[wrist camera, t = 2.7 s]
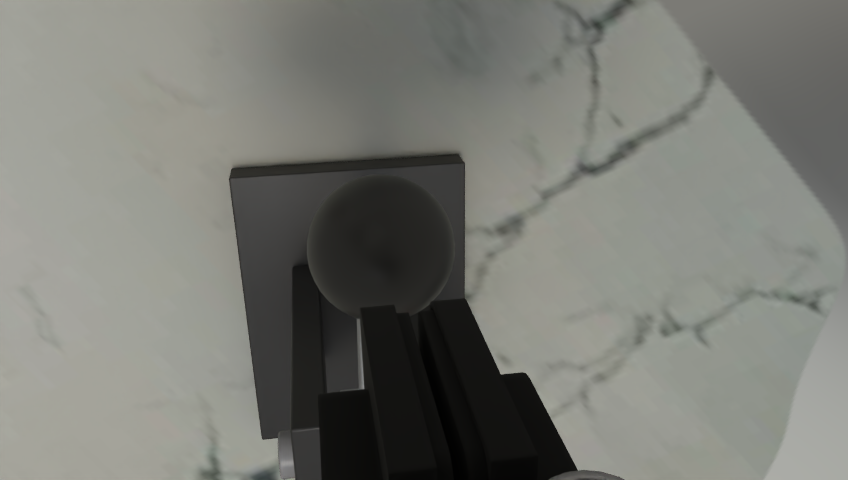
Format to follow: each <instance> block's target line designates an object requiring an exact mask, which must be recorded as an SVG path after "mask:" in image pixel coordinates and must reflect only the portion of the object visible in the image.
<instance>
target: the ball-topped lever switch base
mask: <svg viewBox="0 0 848 480" xmlns="http://www.w3.org/2000/svg"><path fill="white" fill-rule="evenodd" d="M378 174H383V175H393V176H398V177H402V178H405V179H408V180H410V181H412V182H414V183H416V184H418V185H420V186H421V187H423V188H424V189H425V190H427V191H428V192H429V193H430V194H432V195H433V196H434V197H435V199H436V200H437V201H438V202H439V203H440V204H441V206H442V207H443V209H444V211H445V212H446V214H447V216H448V218H449V221H450V223H451V226H452V229H453V235H454V241H455V257H454V262H453V267H452V271H451V273H450V276H449V278H448V281H447V283H446V284H445V286H444V288H443V289H442V291H441V292H440V294H439V295H438V296H437V297H436V298H435V299H434V300H433V301H439V300H450V299H461V298H465V163H464V161H463V160H462V159H461V157H460V156H459V155H443V156H427V157H411V158H395V159H380V160H364V161H348V162H332V163H317V164H301V165H285V166H270V167H254V168H238V169H232V170H231V174H230V178H229V182H230V190H231V198H232V206H233V214H234V222H235V230H236V237H237V245H238V253H239V261H240V269H241V277H242V285H243V293H244V301H245V309H246V316H247V324H248V332H249V340H250V348H251V356H252V364H253V372H254V380H255V388H256V395H257V403H258V411H259V419H260V427H261V435H262V439H263V440H264V439H273V438H278V458H279V469H280V476H281V478H282V479H290V478H295V480H322V477H321V455H320V433H319V411H318V394H321V393H331V392H340V391H341V390H349V389H358V388H359V378H358V345H357V318H354V317H352V316H349V315H348V314H346V313H344V312H342V311H340V310H339V309H338V308H336V307H335V306H334V305H333V304H331V303H330V302H329V301H328V300H327V299H326V298H325V296H324V295H323V294H322V293H321V291H320V290H319V288H318V287H317V285H316V283H315V281H314V279H313V277H312V275H311V272H310V269H309V264H308V258H307V238H308V233H309V228H310V225H311V223H312V220H313V218H314V215H315V213H316V212H317V210H318V208H319V207H320V206H321V204H322V203H323V202H324V200H325V199H326V198H327V197H328V196H329V195H330V194H331V193H332V192H334V191H335V190H336V189H337V188H339V187H340V186H342V185H344V184H345V183H347V182H350V181H352V180H354V179H357V178H360V177H363V176H368V175H378ZM429 307H430V304H429V305H428V306H427V307H425V308H424V309H423V310H421V311H427V310H429ZM410 319H411V322H412V326H413V329H414V333H415V336H416V339H417V343H418V313H416V314H414V315H412V316H410Z"/></svg>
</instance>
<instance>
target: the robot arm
mask: <svg viewBox="0 0 848 480" xmlns="http://www.w3.org/2000/svg"><path fill="white" fill-rule="evenodd" d="M360 327H361V344H362V361H363V377H364V389H360V390H350V391H341V392H331V393H321V394H318V411H319V433H320V455H321V477H322V480H624V479H622V478H620V477H617V476H614V475H611V474H607V473H604V472H599V471H588V470H579V471H578V470H577V468H576V466H575V464H574V462H573V460H572V458H571V456H570V455H569V453H568V451H567V449H566V447H565V445H564V443H563V441H562V439H561V437H560V435H559V434H558V432H557V430H556V428H555V426H554V424H553V422H552V420H551V418H550V416H549V414H548V413H547V411H546V409H545V407H544V405H543V403H542V401H541V399H540V397H539V395H538V393H537V391H536V390H535V388H534V386H533V384H532V382H531V380H530V378H529V377H528V375H527V374H526V373H523V372H522V373H512V374H503V375H501V374H500V372H499V370H498V368H497V366H496V363H495V361H494V359H493V357H492V355H491V353H490V350H489V348H488V346H487V344H486V342H485V340H484V337H483V335H482V333H481V331H480V329H479V327H478V324H477V322H476V320H475V318H474V316H473V314H472V311H471V309H470V307H469V305H468V303H467V301H466V299H465V298H461V299H450V300H439V301H431V302H430V307H429V310H427V311H418V343H417V339H416V336H415V333H414V329H413V326H412V322H411V319H410V316H409V313H408V312H405V313H396V309H395V306H394V305H383V306H372V307H361V308H360Z"/></svg>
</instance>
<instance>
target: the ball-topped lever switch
mask: <svg viewBox="0 0 848 480" xmlns="http://www.w3.org/2000/svg"><path fill="white" fill-rule="evenodd" d="M454 257H455V241H454V235H453V229H452V226H451V223H450V221H449V218H448V216H447V214H446V212H445V211H444V209H443V207H442V206H441V204H440V203H439V202H438V201H437V200H436V199H435V197H434V196H433V195H432V194H430V193H429V192H428V191H427V190H425V189H424V188H423V187H421V186H420V185H418V184H416V183H414V182H412V181H410V180H408V179H405V178H402V177H398V176H393V175H383V174H378V175H368V176H363V177H360V178H357V179H354V180H352V181H350V182H347V183H345V184H344V185H342V186H340V187H339V188H337V189H336V190H335V191H334V192H332V193H331V194H330V195H329V196H328V197H327V198H326V199H325V200H324V202H323V203H322V204H321V206H320V207H319V208H318V210H317V212H316V213H315V215H314V218H313V220H312V223H311V225H310V228H309V233H308V238H307V258H308V264H309V269H310V272H311V275H312V277H313V279H314V281H315V283H316V285H317V287H318V288H319V290H320V291H321V293H322V294H323V295H324V296H325V298H326V299H327V300H328V301H329V302H330V303H331V304H333V305H334V306H335V307H336V308H338V309H339V310H340V311H342V312H344V313H346V314H348V315H349V316H352V317H354V318H357V345H358V378H359V388H358V389H349V390H341V391H350V390H360V389H364V377H363V361H362V344H361V327H360V308H361V307H372V306H383V305H394V306H395V309H396V313H405V312H408V313H409V316H412V315H414V314H416V313H418V311H421V310H423V309H424V308H425V307H427V306H428V305H429V304H430V302H431V301H433V300H434V299H435V298H436V297H437V296H438V295H439V294H440V292H441V291H442V289H443V288H444V286H445V284H446V283H447V281H448V278H449V276H450V273H451V271H452V267H453V262H454ZM341 391H340V392H341Z"/></svg>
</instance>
